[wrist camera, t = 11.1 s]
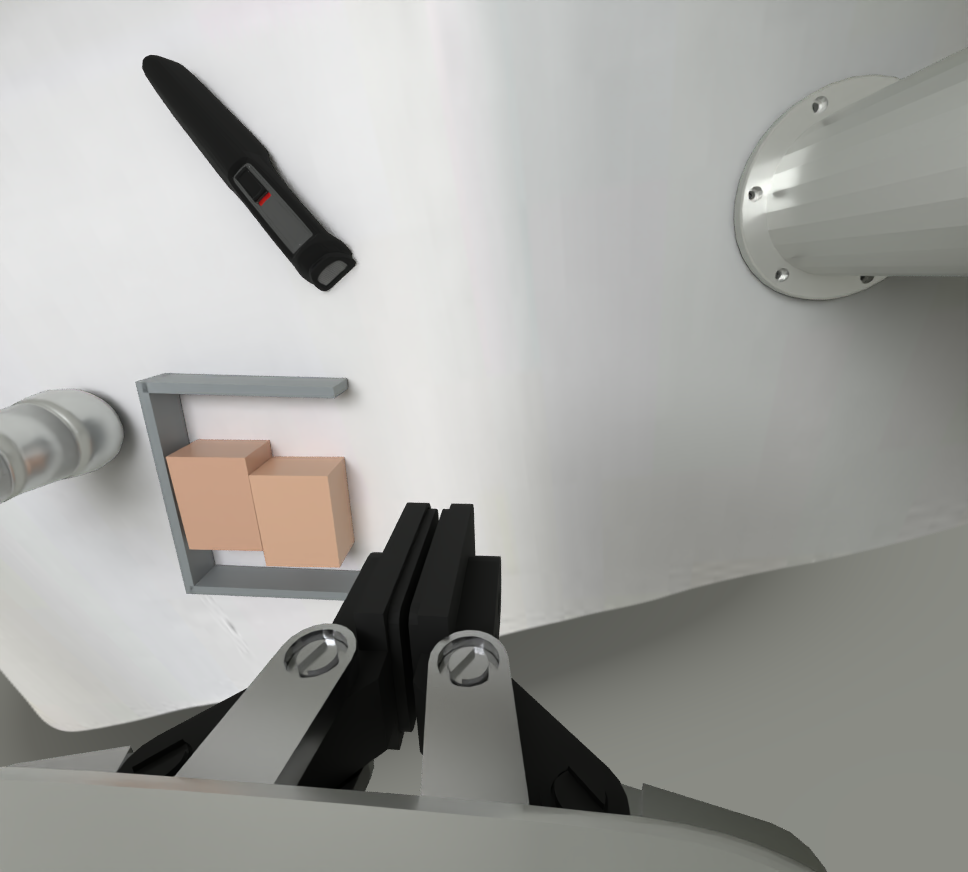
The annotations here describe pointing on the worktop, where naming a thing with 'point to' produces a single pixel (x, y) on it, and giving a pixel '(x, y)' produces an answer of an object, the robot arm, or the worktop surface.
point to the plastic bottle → (55, 439)
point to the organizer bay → (165, 439)
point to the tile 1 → (218, 492)
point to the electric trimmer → (249, 173)
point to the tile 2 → (303, 511)
